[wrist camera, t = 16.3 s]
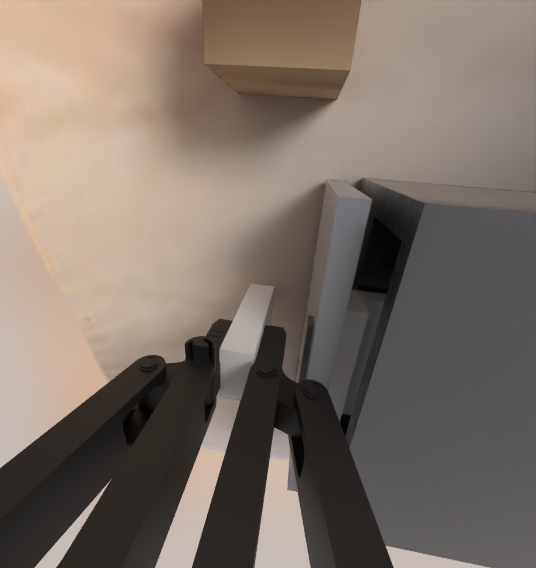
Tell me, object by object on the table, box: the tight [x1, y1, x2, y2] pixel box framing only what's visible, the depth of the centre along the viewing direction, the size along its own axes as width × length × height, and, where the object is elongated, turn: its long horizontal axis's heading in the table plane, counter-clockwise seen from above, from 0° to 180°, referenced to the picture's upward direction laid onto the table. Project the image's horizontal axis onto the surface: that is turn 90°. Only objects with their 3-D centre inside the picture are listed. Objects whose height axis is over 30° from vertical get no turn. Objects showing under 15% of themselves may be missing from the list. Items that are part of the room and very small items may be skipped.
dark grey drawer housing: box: [340, 178, 536, 568], centre depth 14 cm, size 16×13×9 cm
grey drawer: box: [288, 179, 386, 492], centre depth 14 cm, size 16×13×7 cm
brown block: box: [203, 0, 361, 99], centre depth 10 cm, size 5×5×5 cm
